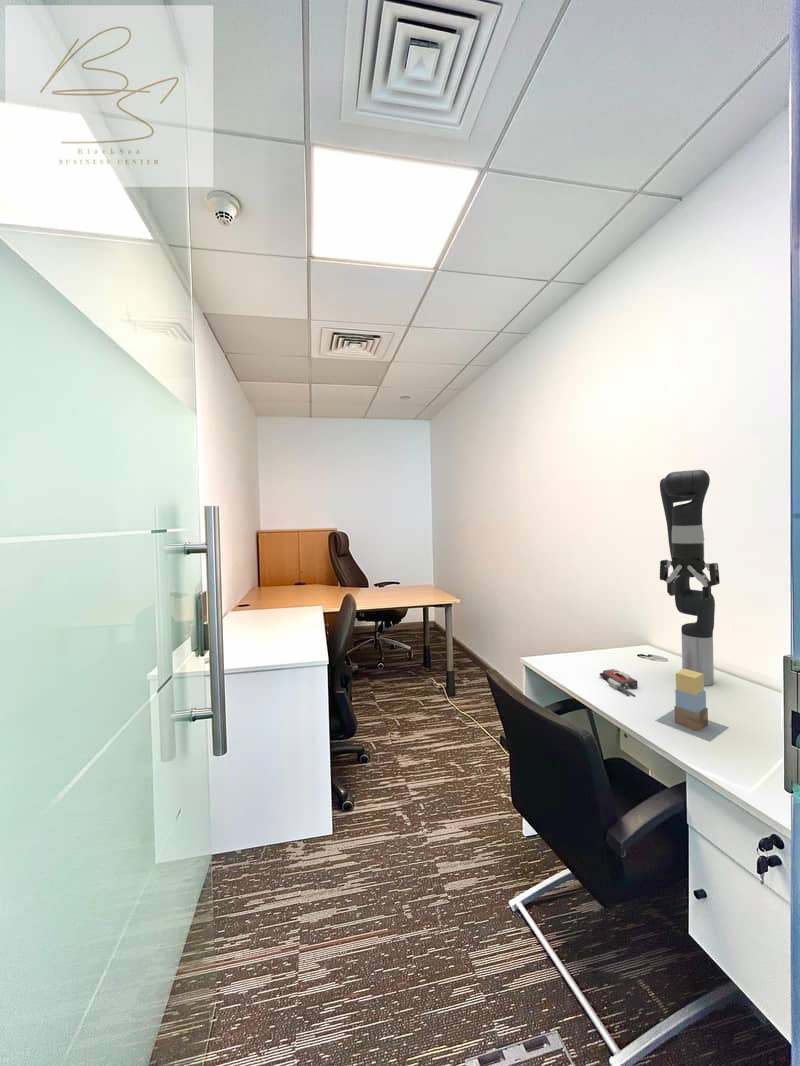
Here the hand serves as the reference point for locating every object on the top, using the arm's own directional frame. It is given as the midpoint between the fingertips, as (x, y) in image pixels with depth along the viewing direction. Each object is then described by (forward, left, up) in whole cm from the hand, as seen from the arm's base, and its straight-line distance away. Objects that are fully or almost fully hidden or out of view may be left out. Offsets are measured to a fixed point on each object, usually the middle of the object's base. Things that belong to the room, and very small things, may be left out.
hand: (688, 597), depth 118 cm
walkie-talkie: (-12, -27, -39) cm, 48 cm away
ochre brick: (0, 0, -27) cm, 27 cm away
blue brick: (0, 0, -32) cm, 32 cm away
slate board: (0, 0, -38) cm, 38 cm away
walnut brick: (0, 0, -37) cm, 37 cm away
